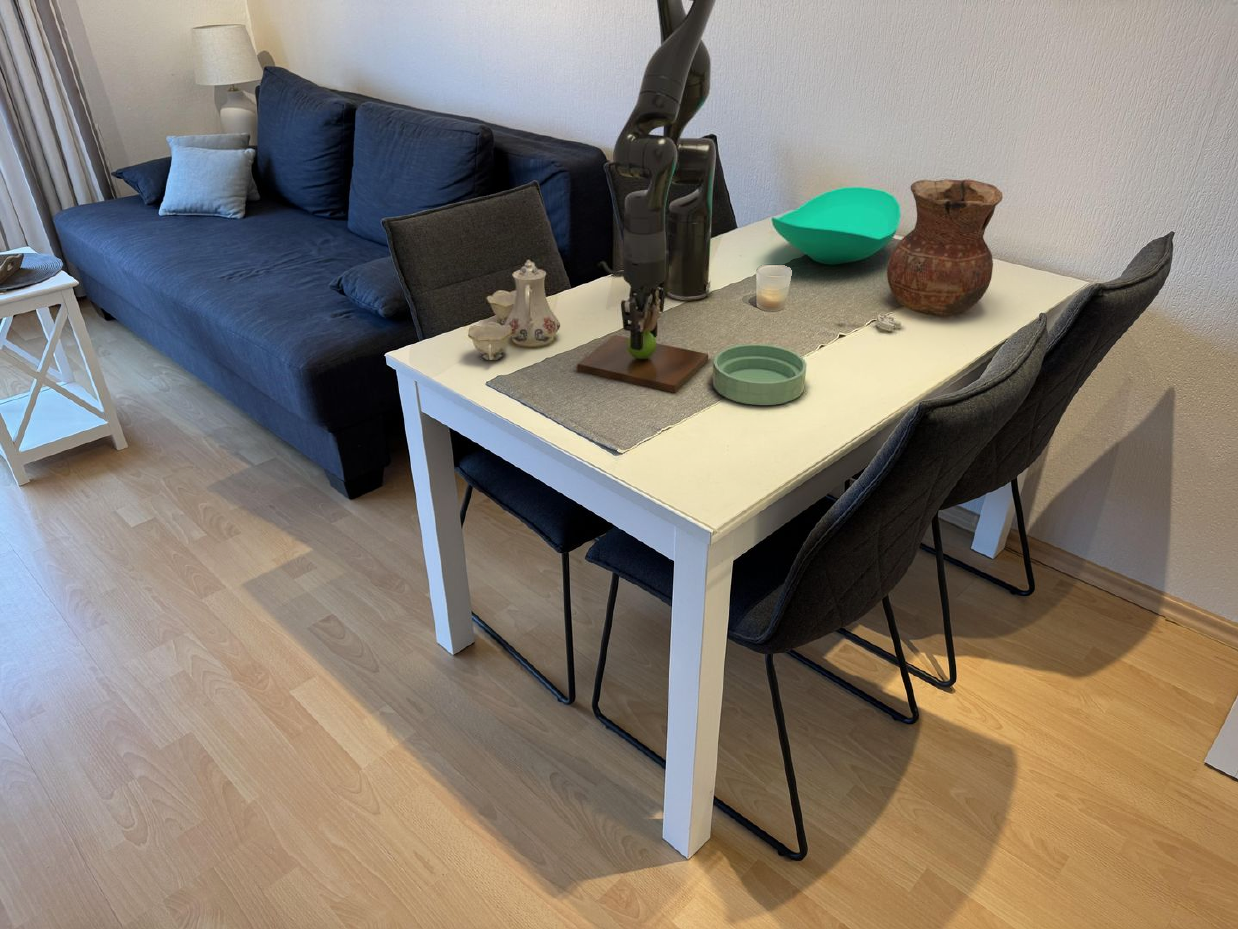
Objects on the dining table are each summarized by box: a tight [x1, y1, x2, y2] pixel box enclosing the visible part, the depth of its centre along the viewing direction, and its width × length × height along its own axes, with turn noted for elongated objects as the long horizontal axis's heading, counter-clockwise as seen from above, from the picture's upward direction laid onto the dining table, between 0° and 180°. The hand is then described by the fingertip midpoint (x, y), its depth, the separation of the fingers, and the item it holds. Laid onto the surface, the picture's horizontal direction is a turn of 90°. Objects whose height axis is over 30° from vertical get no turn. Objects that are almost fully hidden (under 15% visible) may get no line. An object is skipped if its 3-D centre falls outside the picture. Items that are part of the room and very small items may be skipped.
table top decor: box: [771, 186, 902, 266], centre depth 212 cm, size 40×28×13 cm
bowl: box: [711, 343, 808, 406], centre depth 156 cm, size 16×16×4 cm
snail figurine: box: [627, 299, 661, 359], centre depth 161 cm, size 5×6×12 cm
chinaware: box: [467, 259, 561, 361], centre depth 172 cm, size 28×17×17 cm, turn 1°
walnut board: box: [576, 334, 709, 394], centre depth 164 cm, size 20×15×2 cm
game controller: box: [843, 313, 902, 332], centre depth 178 cm, size 6×12×3 cm, turn 100°
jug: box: [886, 178, 1004, 317], centre depth 183 cm, size 22×21×25 cm
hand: (643, 342), depth 162 cm, fingers closed on snail figurine, 5 cm apart
